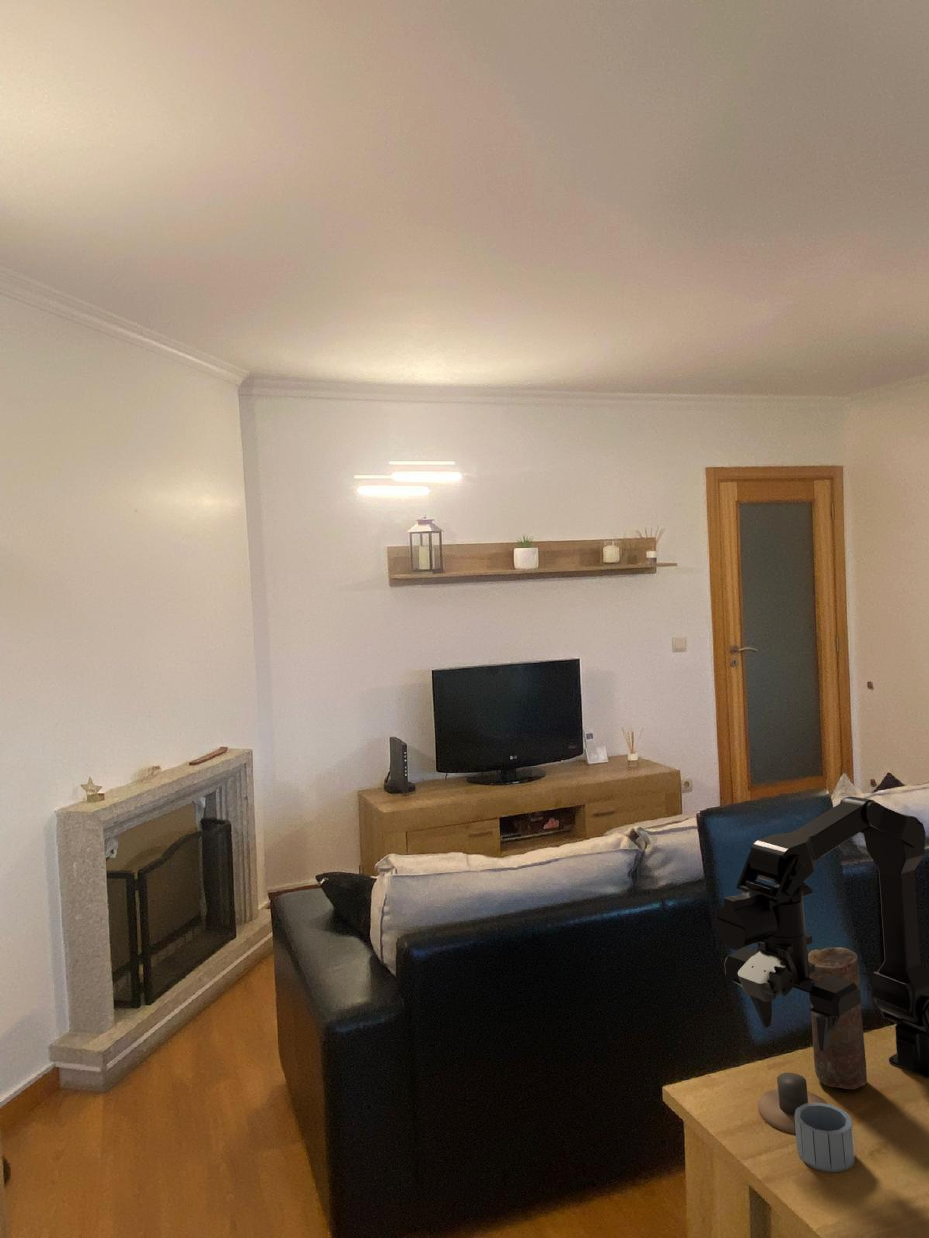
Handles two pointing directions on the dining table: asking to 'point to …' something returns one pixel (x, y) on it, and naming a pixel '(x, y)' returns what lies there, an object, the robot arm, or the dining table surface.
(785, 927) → the robot arm
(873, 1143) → the dining table surface
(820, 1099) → the lid
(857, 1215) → the dining table surface
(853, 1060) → the candle
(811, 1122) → the pot
